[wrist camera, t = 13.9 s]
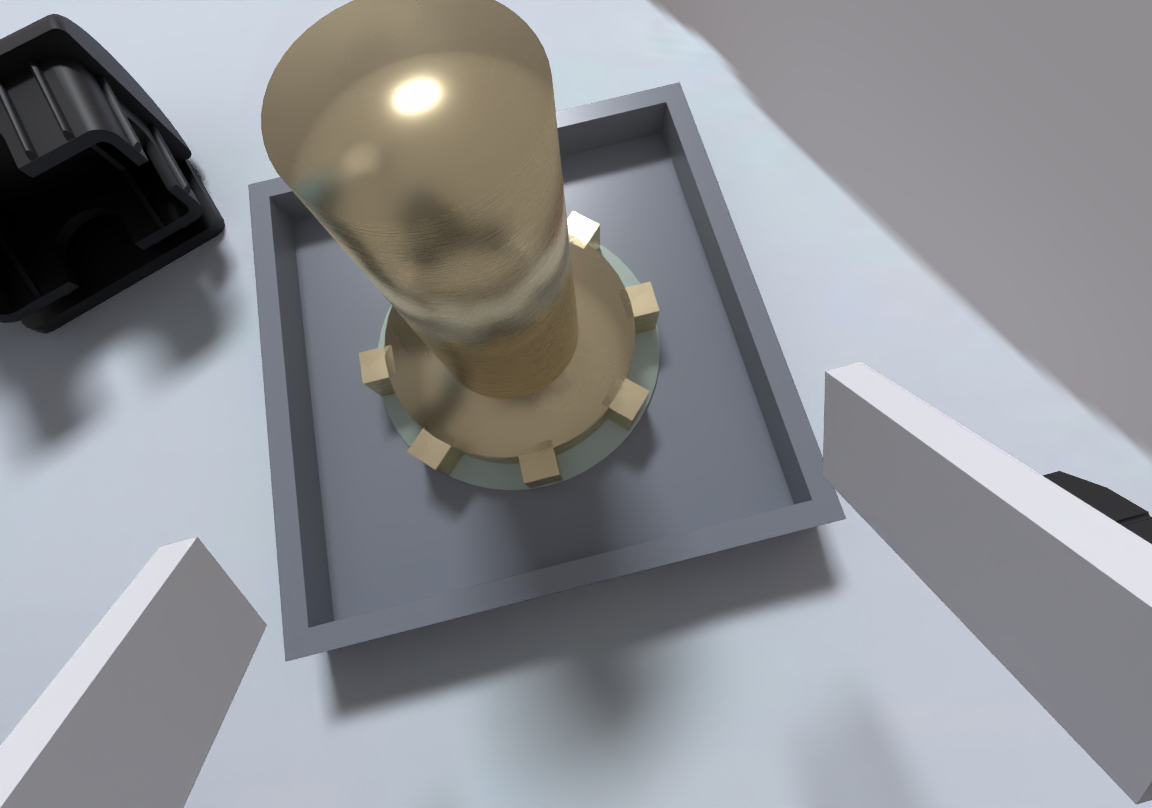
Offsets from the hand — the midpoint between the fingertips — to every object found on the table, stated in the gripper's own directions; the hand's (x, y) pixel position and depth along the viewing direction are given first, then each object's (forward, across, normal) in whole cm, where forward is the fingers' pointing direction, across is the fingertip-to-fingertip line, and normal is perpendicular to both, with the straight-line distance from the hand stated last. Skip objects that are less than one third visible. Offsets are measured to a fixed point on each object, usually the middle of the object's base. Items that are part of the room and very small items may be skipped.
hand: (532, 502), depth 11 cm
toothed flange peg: (+10, 0, 0) cm, 10 cm away
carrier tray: (+11, 0, -1) cm, 11 cm away
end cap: (+19, -17, +7) cm, 26 cm away
